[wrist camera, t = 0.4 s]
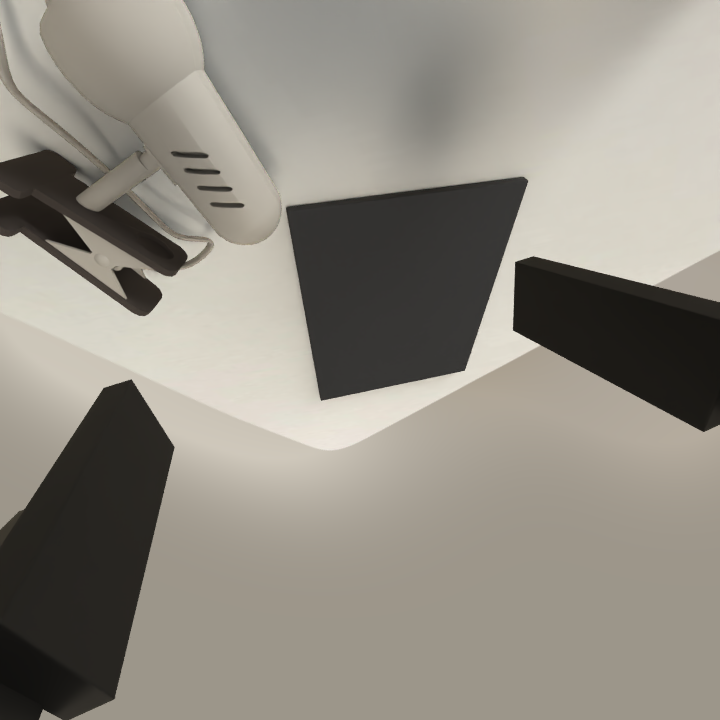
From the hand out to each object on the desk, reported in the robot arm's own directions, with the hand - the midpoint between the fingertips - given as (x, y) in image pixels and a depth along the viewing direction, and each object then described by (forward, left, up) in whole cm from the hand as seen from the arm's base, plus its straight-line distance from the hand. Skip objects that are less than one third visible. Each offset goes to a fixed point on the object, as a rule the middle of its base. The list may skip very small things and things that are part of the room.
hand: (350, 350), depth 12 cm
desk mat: (+11, +7, -14) cm, 19 cm away
